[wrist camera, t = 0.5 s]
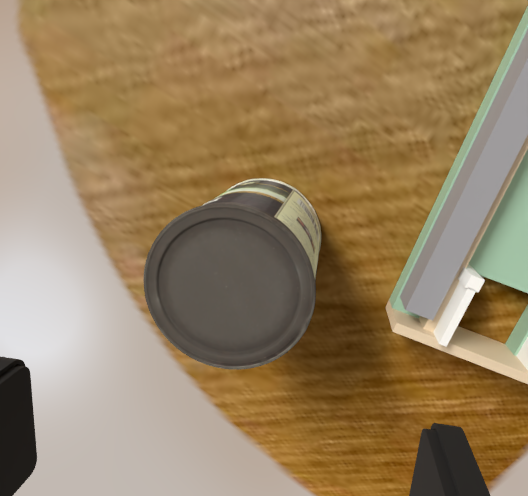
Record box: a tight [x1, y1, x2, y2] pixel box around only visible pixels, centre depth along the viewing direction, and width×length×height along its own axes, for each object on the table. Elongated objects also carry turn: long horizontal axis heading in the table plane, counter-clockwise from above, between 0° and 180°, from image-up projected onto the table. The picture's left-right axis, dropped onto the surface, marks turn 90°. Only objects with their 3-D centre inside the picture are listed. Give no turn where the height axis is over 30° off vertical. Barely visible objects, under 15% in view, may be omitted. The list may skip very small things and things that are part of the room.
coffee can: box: [144, 178, 321, 369], centre depth 33 cm, size 10×10×14 cm
